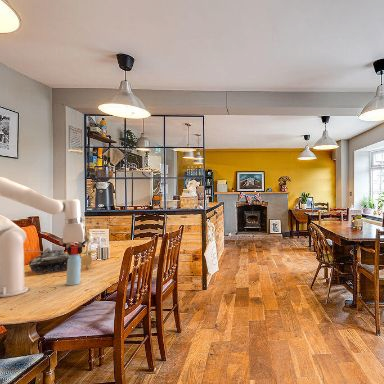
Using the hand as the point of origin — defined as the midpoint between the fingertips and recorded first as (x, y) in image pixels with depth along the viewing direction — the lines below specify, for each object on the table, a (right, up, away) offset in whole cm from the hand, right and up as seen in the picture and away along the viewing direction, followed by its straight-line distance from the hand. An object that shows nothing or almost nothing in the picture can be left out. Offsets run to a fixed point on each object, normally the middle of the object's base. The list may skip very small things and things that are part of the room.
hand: (75, 254), depth 157 cm
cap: (0, 0, 0) cm, 0 cm away
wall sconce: (-10, -16, +30) cm, 35 cm away
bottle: (-1, -16, 0) cm, 16 cm away
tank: (-30, -16, +27) cm, 44 cm away
